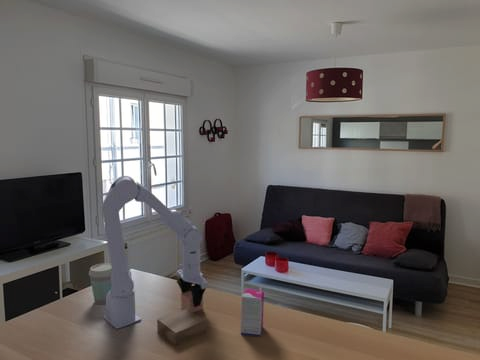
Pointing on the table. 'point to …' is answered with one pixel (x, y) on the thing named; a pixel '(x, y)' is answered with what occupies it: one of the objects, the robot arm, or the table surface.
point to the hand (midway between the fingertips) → (192, 302)
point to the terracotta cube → (189, 302)
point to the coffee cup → (100, 281)
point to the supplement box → (252, 312)
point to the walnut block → (181, 326)
